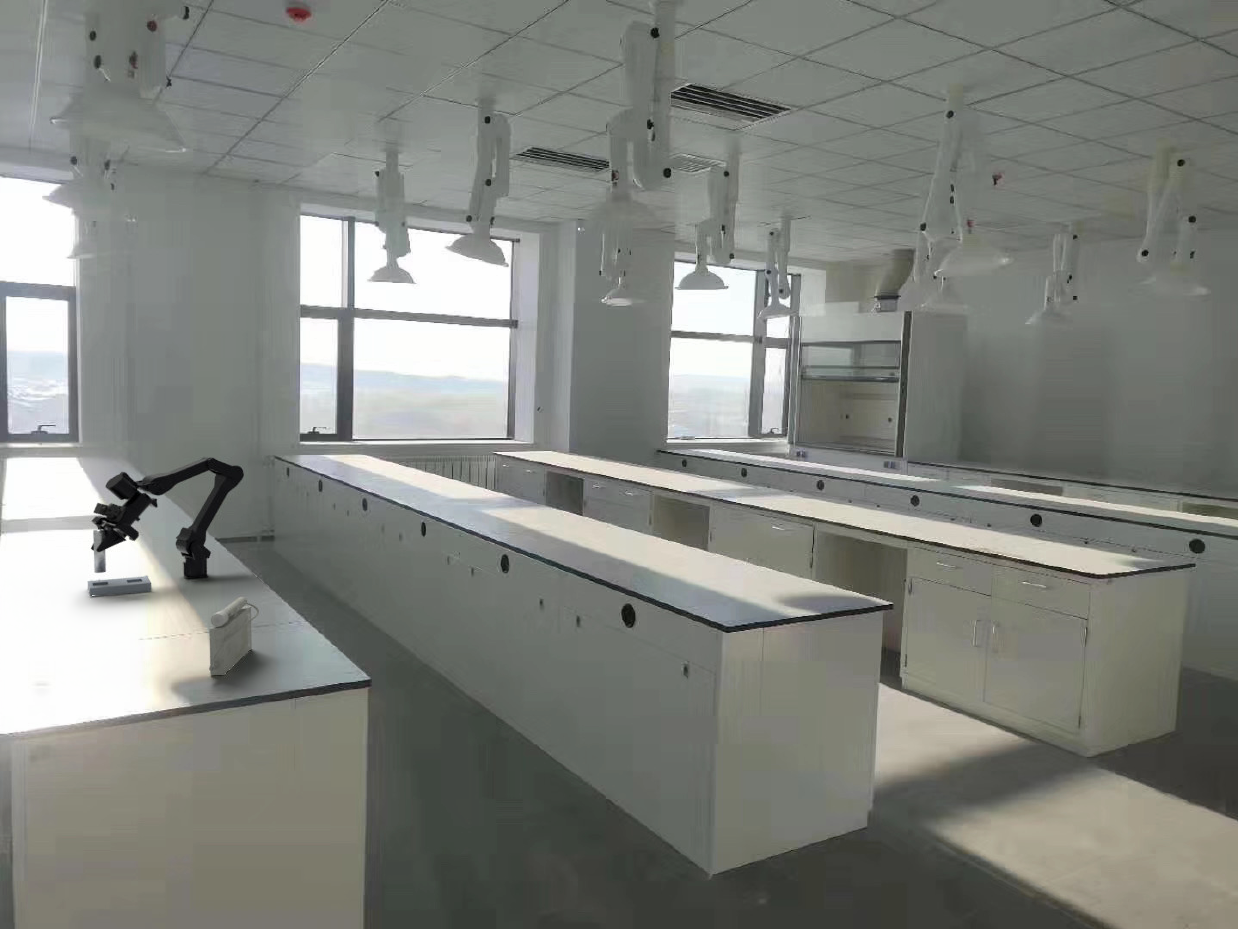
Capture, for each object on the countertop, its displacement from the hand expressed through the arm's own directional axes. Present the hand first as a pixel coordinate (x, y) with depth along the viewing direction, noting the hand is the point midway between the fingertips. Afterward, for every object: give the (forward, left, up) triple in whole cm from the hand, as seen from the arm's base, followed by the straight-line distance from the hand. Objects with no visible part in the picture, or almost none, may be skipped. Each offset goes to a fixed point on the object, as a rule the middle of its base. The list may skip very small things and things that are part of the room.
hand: (94, 550), depth 268 cm
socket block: (-6, 0, -13) cm, 14 cm away
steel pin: (-1, 0, -7) cm, 7 cm away
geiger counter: (-22, +87, -13) cm, 90 cm away
